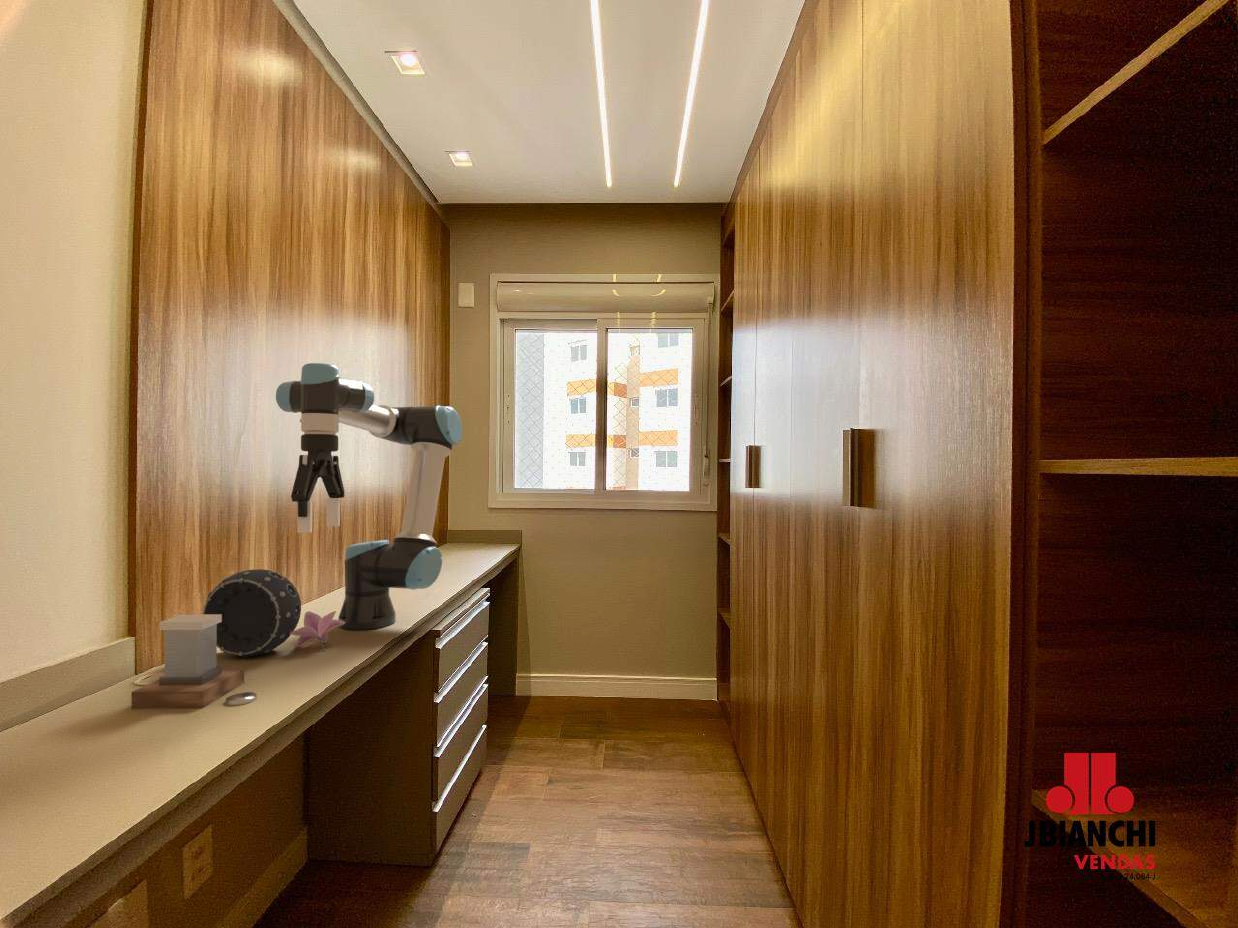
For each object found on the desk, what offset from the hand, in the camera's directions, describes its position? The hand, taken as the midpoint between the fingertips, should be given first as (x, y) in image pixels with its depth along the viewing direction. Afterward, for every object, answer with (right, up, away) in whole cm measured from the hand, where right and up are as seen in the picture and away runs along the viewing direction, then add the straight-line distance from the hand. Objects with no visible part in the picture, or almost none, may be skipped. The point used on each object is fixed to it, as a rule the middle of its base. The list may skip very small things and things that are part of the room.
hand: (319, 529), depth 136 cm
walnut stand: (-17, -31, -16) cm, 39 cm away
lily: (-8, -31, +15) cm, 35 cm away
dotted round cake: (-20, -31, +9) cm, 38 cm away
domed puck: (-6, -31, -19) cm, 37 cm away
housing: (-17, -28, -16) cm, 36 cm away
